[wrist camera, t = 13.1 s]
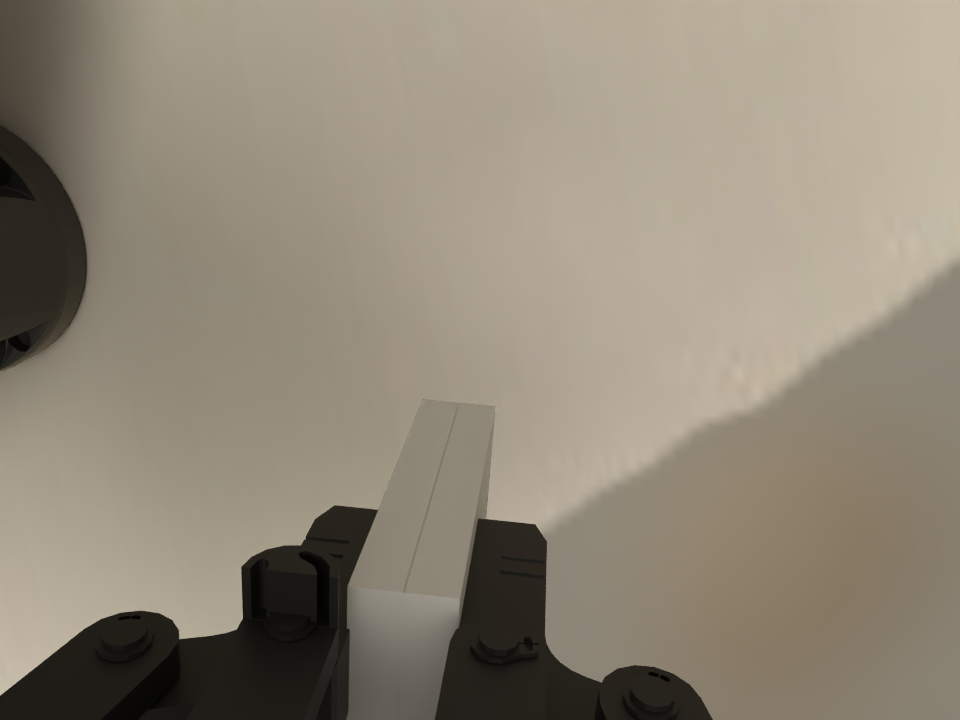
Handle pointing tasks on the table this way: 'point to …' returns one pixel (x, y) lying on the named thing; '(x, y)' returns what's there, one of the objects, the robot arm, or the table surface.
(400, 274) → the table surface
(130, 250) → the table surface
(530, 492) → the table surface
